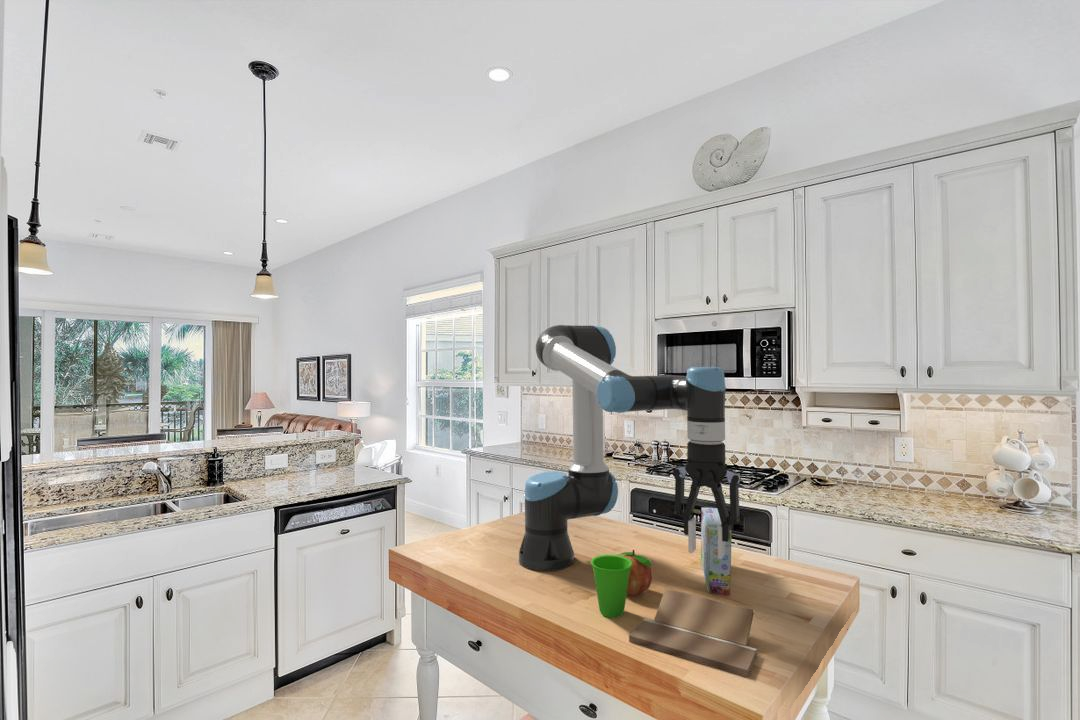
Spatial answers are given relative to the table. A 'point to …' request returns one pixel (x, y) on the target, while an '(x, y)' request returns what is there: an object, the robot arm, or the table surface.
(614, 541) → the table surface
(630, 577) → the fruit
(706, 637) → the floorboard
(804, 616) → the table surface
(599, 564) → the cup
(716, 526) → the snack box
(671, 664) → the table surface
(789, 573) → the table surface
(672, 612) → the plank
